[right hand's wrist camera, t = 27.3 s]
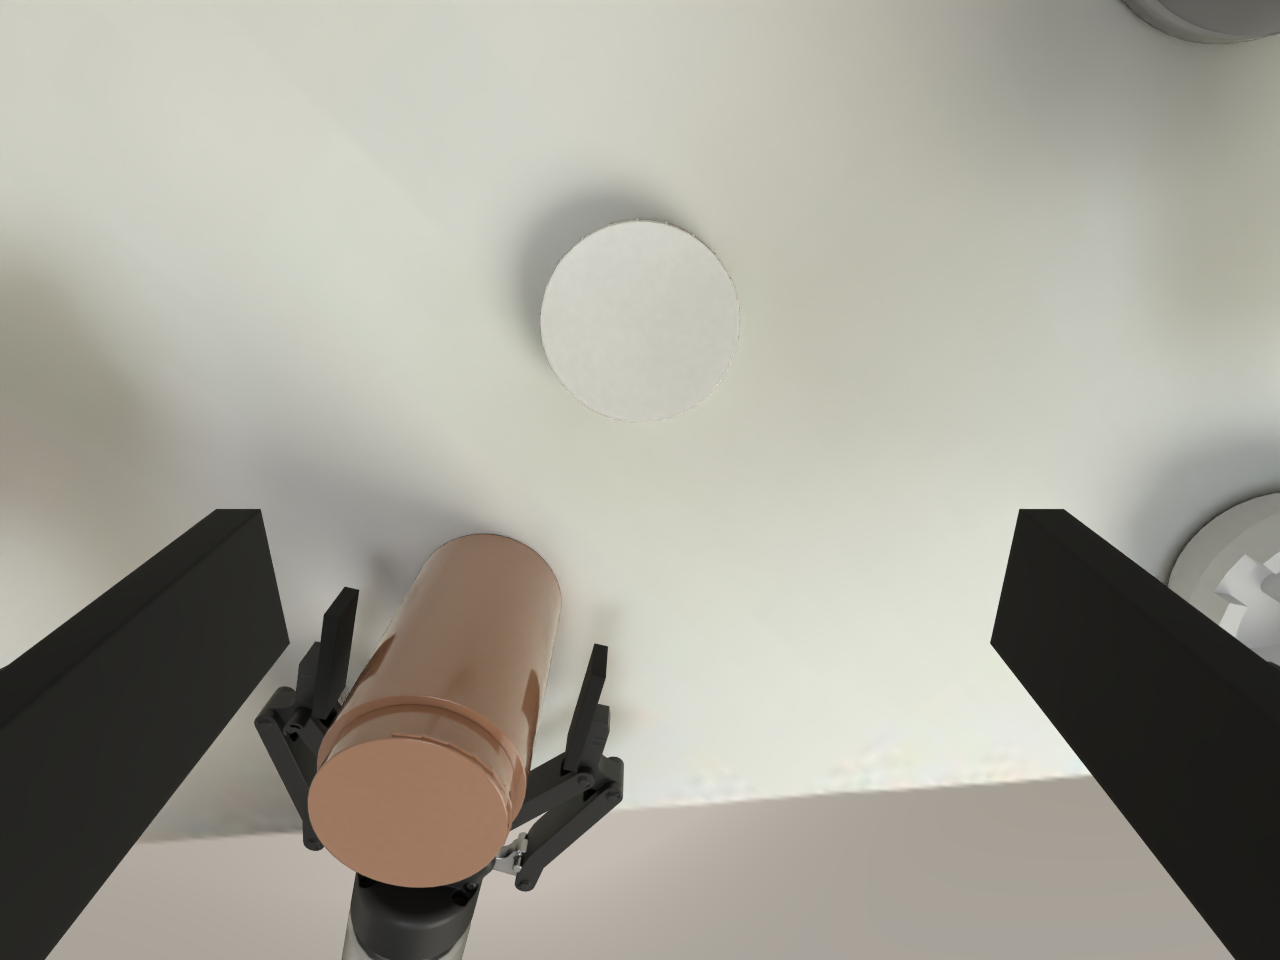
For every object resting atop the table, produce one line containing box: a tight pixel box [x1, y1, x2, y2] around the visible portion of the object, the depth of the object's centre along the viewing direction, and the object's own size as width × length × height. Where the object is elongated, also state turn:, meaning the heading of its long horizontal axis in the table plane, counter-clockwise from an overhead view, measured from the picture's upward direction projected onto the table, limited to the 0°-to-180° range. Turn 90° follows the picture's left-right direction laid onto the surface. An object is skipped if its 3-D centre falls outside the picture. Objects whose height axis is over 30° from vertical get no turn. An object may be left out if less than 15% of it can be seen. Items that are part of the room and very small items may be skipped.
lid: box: [540, 218, 740, 423], centre depth 37 cm, size 10×10×2 cm
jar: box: [308, 534, 561, 888], centre depth 37 cm, size 9×9×17 cm
